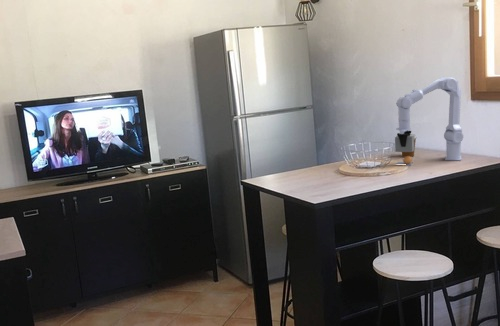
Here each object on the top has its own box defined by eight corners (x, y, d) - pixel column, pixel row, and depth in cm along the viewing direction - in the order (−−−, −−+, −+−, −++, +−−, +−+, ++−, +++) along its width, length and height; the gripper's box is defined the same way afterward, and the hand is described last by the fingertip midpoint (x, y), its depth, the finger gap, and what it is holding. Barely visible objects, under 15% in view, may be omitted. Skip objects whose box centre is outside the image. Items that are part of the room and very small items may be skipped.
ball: (413, 157, 283) (410, 164, 285) (405, 154, 285) (402, 161, 286) (412, 158, 280) (409, 166, 281) (404, 155, 281) (401, 163, 282)
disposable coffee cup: (395, 156, 307) (395, 135, 304) (408, 153, 311) (408, 133, 308) (407, 158, 298) (406, 137, 296) (420, 156, 302) (420, 135, 300)
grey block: (397, 149, 287) (397, 135, 286) (414, 149, 283) (413, 135, 282) (395, 151, 282) (394, 137, 281) (412, 152, 278) (411, 137, 277)
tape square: (398, 162, 290) (397, 161, 290) (413, 162, 286) (413, 162, 286) (394, 165, 283) (394, 165, 283) (410, 165, 279) (410, 165, 279)
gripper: (399, 118, 288) (399, 143, 290) (393, 121, 275) (393, 147, 278) (412, 118, 285) (412, 143, 287) (407, 121, 272) (407, 148, 274)
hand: (404, 145), depth 282 cm, fingers closed on grey block, 6 cm apart
